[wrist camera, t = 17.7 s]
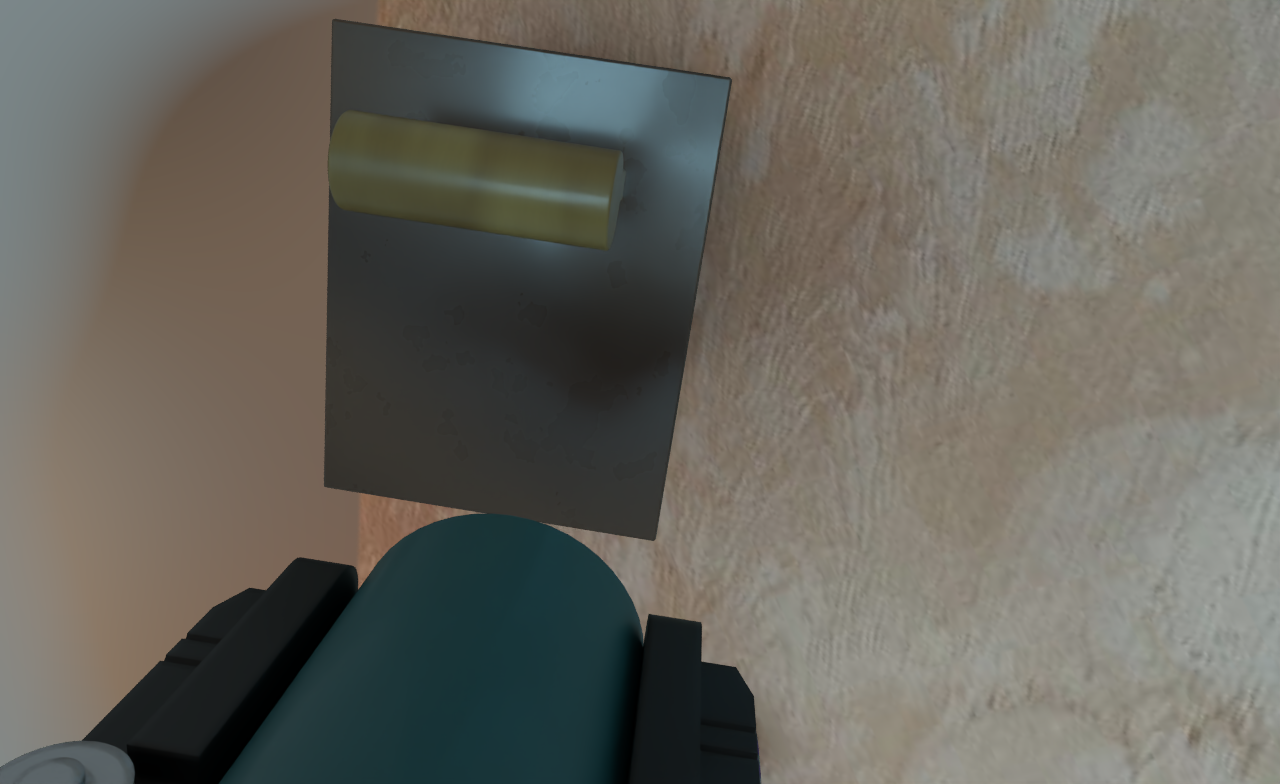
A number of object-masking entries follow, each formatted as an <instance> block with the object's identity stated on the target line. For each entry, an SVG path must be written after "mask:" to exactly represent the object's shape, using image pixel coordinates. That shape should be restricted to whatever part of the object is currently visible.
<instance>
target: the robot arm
mask: <svg viewBox="0 0 1280 784" xmlns="http://www.w3.org/2000/svg"><path fill="white" fill-rule="evenodd" d="M357 591H358V574H357V570H356V568H355V567H354V566H351V565H345V564H339V563H332V562H326V561H320V560H314V559H307V558H297V559H295V560H294V561H293V562H292V563H291V564H290V565H289V566H288V567H287V568H286V569H285V570H284V572H283V573H282V574H281V575H280V576H279V577H278V578H277V579H276V580H275V581H274V582H273V584H272V585H271V586H270V587H269V588H268V589H267V590H260V589H254V588H248V589H247V590H245V591H243V592H241V593H239V594H237V595H235V596H233V597H232V598H230V599H228V600H226V601H224V602H222V603H220V604H218V605H216V606H215V607H213V608H212V609H211V610H210V611H209V612H208V613H207V614H206V615H205V616H204V617H203V618H202V619H201V620H200V621H199V622H198V623H197V624H196V625H195V626H194V627H193V628H192V629H191V630H190V631H189V632H188V633H187V637H186V639H181V640H180V641H179V642H178V643H177V645H175V646H174V648H172V649H171V650H170V651H169V652H168V653H167V655H166V658H165V660H164V661H160V662H159V663H158V664H157V665H156V666H155V667H154V668H153V669H152V670H151V671H150V672H149V673H148V674H147V675H146V676H145V677H144V678H143V679H142V680H141V681H140V682H139V683H138V684H137V685H136V686H135V687H134V688H133V689H132V690H131V691H130V692H129V693H128V694H127V695H126V696H125V697H124V698H123V699H122V700H121V701H120V702H119V703H118V704H117V705H116V706H115V707H114V708H113V709H112V710H111V711H110V713H108V714H107V715H106V717H105V718H104V719H103V720H102V721H101V722H100V723H99V724H98V725H97V726H96V727H95V728H94V729H93V730H92V731H91V732H90V733H89V734H88V735H87V736H86V737H85V738H84V739H83V740H82V741H73V742H65V743H59V744H54V745H51V746H47V747H43V748H40V749H37V750H34V751H32V752H29V753H26V754H24V755H22V756H20V757H18V758H16V759H14V760H12V761H10V762H8V763H6V764H5V765H3V766H1V767H0V784H219V782H220V781H221V780H222V778H223V777H224V776H225V774H226V773H227V771H228V770H229V769H230V767H231V766H232V764H233V763H234V762H235V760H236V759H237V757H238V756H239V755H240V753H241V752H242V751H243V749H244V748H245V746H246V745H247V744H248V742H249V741H250V739H251V738H252V737H253V735H254V734H255V733H256V731H257V730H258V728H259V727H260V726H261V724H262V723H263V721H264V720H265V719H266V717H267V716H268V714H269V713H270V712H271V710H272V709H273V708H274V706H275V705H276V703H277V702H278V701H279V699H280V698H281V696H282V695H283V694H284V692H285V691H286V689H287V688H288V687H289V685H290V684H291V683H292V681H293V680H294V678H295V677H296V676H297V674H298V673H299V671H300V670H301V669H302V667H303V666H304V665H305V663H306V662H307V660H308V659H309V658H310V656H311V655H312V653H313V652H314V651H315V649H316V648H317V646H318V645H319V644H320V642H321V641H322V640H323V638H324V637H325V635H326V634H327V633H328V631H329V630H330V628H331V627H332V626H333V624H334V623H335V621H336V620H337V619H338V617H339V616H340V615H341V613H342V612H343V610H344V609H345V608H346V606H347V605H348V603H349V602H350V601H351V599H352V598H353V596H354V595H355V594H356V592H357ZM701 647H702V624H701V622H696V621H689V620H683V619H677V618H671V617H665V616H658V615H652V614H649V615H648V620H647V626H646V632H645V638H644V644H643V651H642V660H641V668H640V676H639V685H638V693H637V701H636V709H635V718H634V726H633V734H632V742H631V751H630V759H629V767H628V775H627V784H760V772H759V760H758V746H757V734H756V719H755V706H754V696H753V694H752V693H751V691H750V689H749V688H748V686H747V684H746V683H745V681H744V680H743V678H742V676H741V675H740V673H739V671H738V670H737V668H736V667H731V666H725V665H719V664H713V663H707V662H701Z"/></svg>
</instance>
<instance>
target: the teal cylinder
mask: <svg viewBox="0 0 1280 784" xmlns="http://www.w3.org/2000/svg"><path fill="white" fill-rule="evenodd" d="M643 644H644V643H643V633H642V629H641V624H640V620H639V617H638V614H637V612H636V609H635V606H634V604H633V601H632V600H631V598H630V596H629V594H628V592H627V591H626V589H625V587H624V586H623V584H622V583H621V581H620V580H619V579H618V577H617V576H616V575H615V573H614V572H613V571H612V570H611V569H610V568H609V567H608V565H607V564H606V563H605V562H604V561H603V560H602V559H601V558H600V557H599V556H597V555H596V554H595V553H594V552H593V551H591V550H590V549H589V548H588V547H586V546H585V545H584V544H582V543H581V542H579V541H577V540H576V539H574V538H573V537H571V536H569V535H568V534H566V533H564V532H562V531H559V530H557V529H555V528H553V527H551V526H548V525H546V524H543V523H540V522H537V521H534V520H531V519H526V518H521V517H517V516H512V515H502V514H469V515H463V516H456V517H451V518H448V519H444V520H441V521H437V522H434V523H431V524H429V525H427V526H424V527H422V528H420V529H418V530H416V531H414V532H413V533H411V534H409V535H408V536H406V537H404V538H403V539H402V540H400V541H399V542H398V543H397V544H395V545H394V546H393V547H392V548H391V549H389V551H388V552H387V553H386V554H385V555H384V556H383V557H382V558H381V560H380V561H379V562H378V563H377V565H376V566H375V567H374V569H373V570H372V572H371V573H370V574H369V576H368V577H367V578H366V580H365V581H364V583H363V584H362V585H361V587H360V588H359V590H358V591H357V592H356V594H355V595H354V596H353V598H352V599H351V601H350V602H349V603H348V605H347V606H346V608H345V609H344V610H343V612H342V613H341V615H340V616H339V617H338V619H337V620H336V621H335V623H334V624H333V626H332V627H331V628H330V630H329V631H328V633H327V634H326V635H325V637H324V638H323V640H322V641H321V642H320V644H319V645H318V646H317V648H316V649H315V651H314V652H313V653H312V655H311V656H310V658H309V659H308V660H307V662H306V663H305V665H304V666H303V667H302V669H301V670H300V671H299V673H298V674H297V676H296V677H295V678H294V680H293V681H292V683H291V684H290V685H289V687H288V688H287V689H286V691H285V692H284V694H283V695H282V696H281V698H280V699H279V701H278V702H277V703H276V705H275V706H274V708H273V709H272V710H271V712H270V713H269V714H268V716H267V717H266V719H265V720H264V721H263V723H262V724H261V726H260V727H259V728H258V730H257V731H256V733H255V734H254V735H253V737H252V738H251V739H250V741H249V742H248V744H247V745H246V746H245V748H244V749H243V751H242V752H241V753H240V755H239V756H238V757H237V759H236V760H235V762H234V763H233V764H232V766H231V767H230V769H229V770H228V771H227V773H226V774H225V776H224V777H223V778H222V780H221V781H220V782H219V784H627V775H628V767H629V759H630V751H631V742H632V734H633V726H634V718H635V709H636V701H637V693H638V685H639V676H640V668H641V660H642V651H643Z"/></svg>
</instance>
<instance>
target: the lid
mask: <svg viewBox="0 0 1280 784" xmlns="http://www.w3.org/2000/svg"><path fill="white" fill-rule="evenodd" d="M331 60H332V61H331V62H332V63H331V117H330V145H329V152H328V178H329V230H328V287H327V291H328V293H327V346H326V403H325V461H324V486H325V487H328V488H334V489H341V490H347V491H352V492H359V493H365V494H371V495H377V496H383V497H389V498H395V499H401V500H407V501H414V502H420V503H426V504H432V505H438V506H444V507H450V508H456V509H462V510H468V511H475V512H481V513H487V514H502V515H512V516H517V517H521V518H526V519H531V520H534V521H537V522H542V523H548V524H554V525H560V526H566V527H572V528H578V529H584V530H591V531H597V532H603V533H609V534H615V535H621V536H627V537H633V538H639V539H645V540H652V541H654V540H655V539H656V534H657V528H658V522H659V516H660V510H661V504H662V498H663V492H664V486H665V480H666V474H667V468H668V462H669V456H670V450H671V444H672V438H673V432H674V426H675V420H676V414H677V408H678V402H679V396H680V390H681V384H682V378H683V372H684V366H685V360H686V354H687V348H688V342H689V336H690V330H691V324H692V318H693V312H694V306H695V300H696V294H697V288H698V282H699V276H700V270H701V264H702V258H703V252H704V246H705V240H706V234H707V228H708V222H709V216H710V210H711V204H712V198H713V192H714V186H715V180H716V174H717V168H718V162H719V156H720V150H721V144H722V138H723V132H724V126H725V120H726V114H727V108H728V102H729V96H730V90H731V84H732V79H731V78H730V77H723V76H716V75H710V74H703V73H696V72H689V71H683V70H676V69H669V68H662V67H656V66H649V65H642V64H635V63H629V62H622V61H615V60H609V59H602V58H595V57H588V56H582V55H575V54H568V53H561V52H555V51H548V50H541V49H535V48H528V47H521V46H514V45H508V44H501V43H494V42H487V41H481V40H474V39H467V38H460V37H454V36H447V35H440V34H434V33H427V32H420V31H413V30H407V29H400V28H393V27H386V26H380V25H373V24H366V23H359V22H352V21H346V20H339V19H333V20H332V59H331Z"/></svg>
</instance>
